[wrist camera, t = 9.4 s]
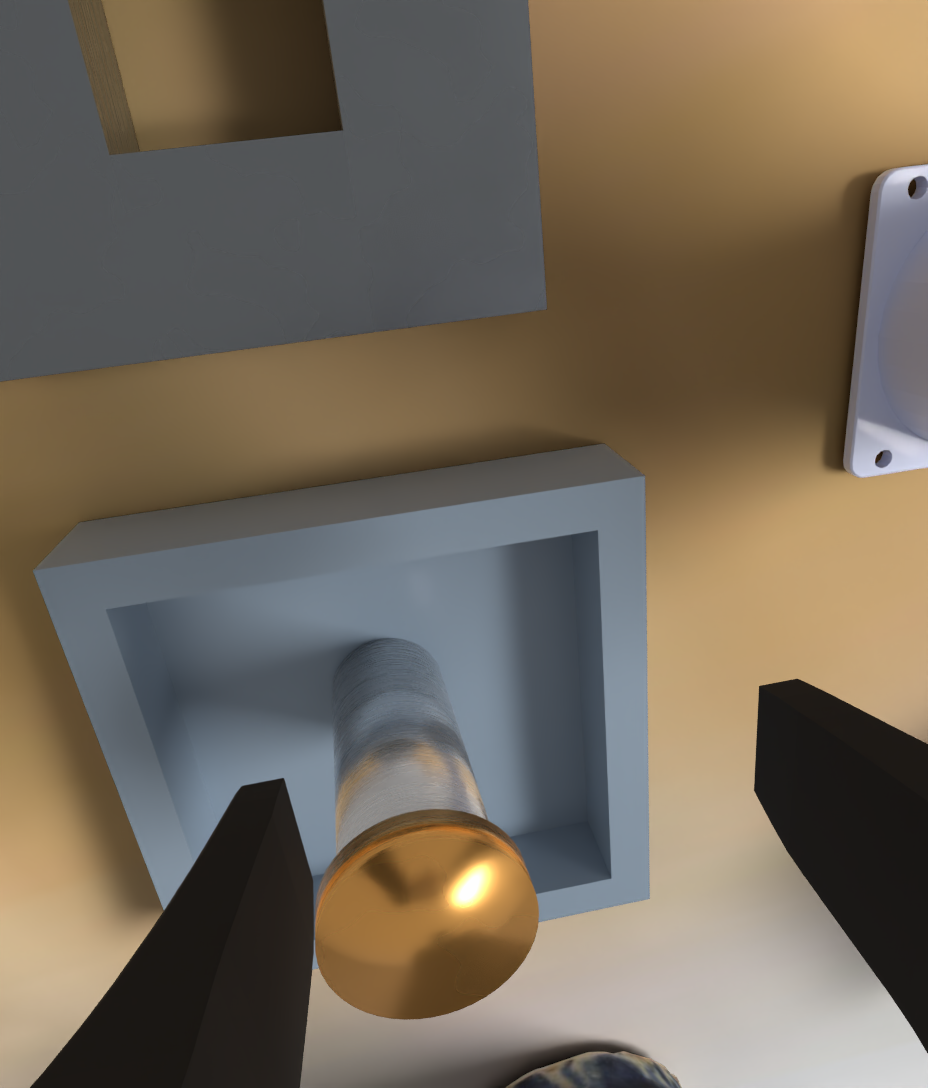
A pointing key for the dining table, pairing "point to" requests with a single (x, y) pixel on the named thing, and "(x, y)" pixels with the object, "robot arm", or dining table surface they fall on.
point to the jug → (600, 1073)
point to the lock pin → (413, 850)
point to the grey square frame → (266, 194)
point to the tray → (366, 615)
